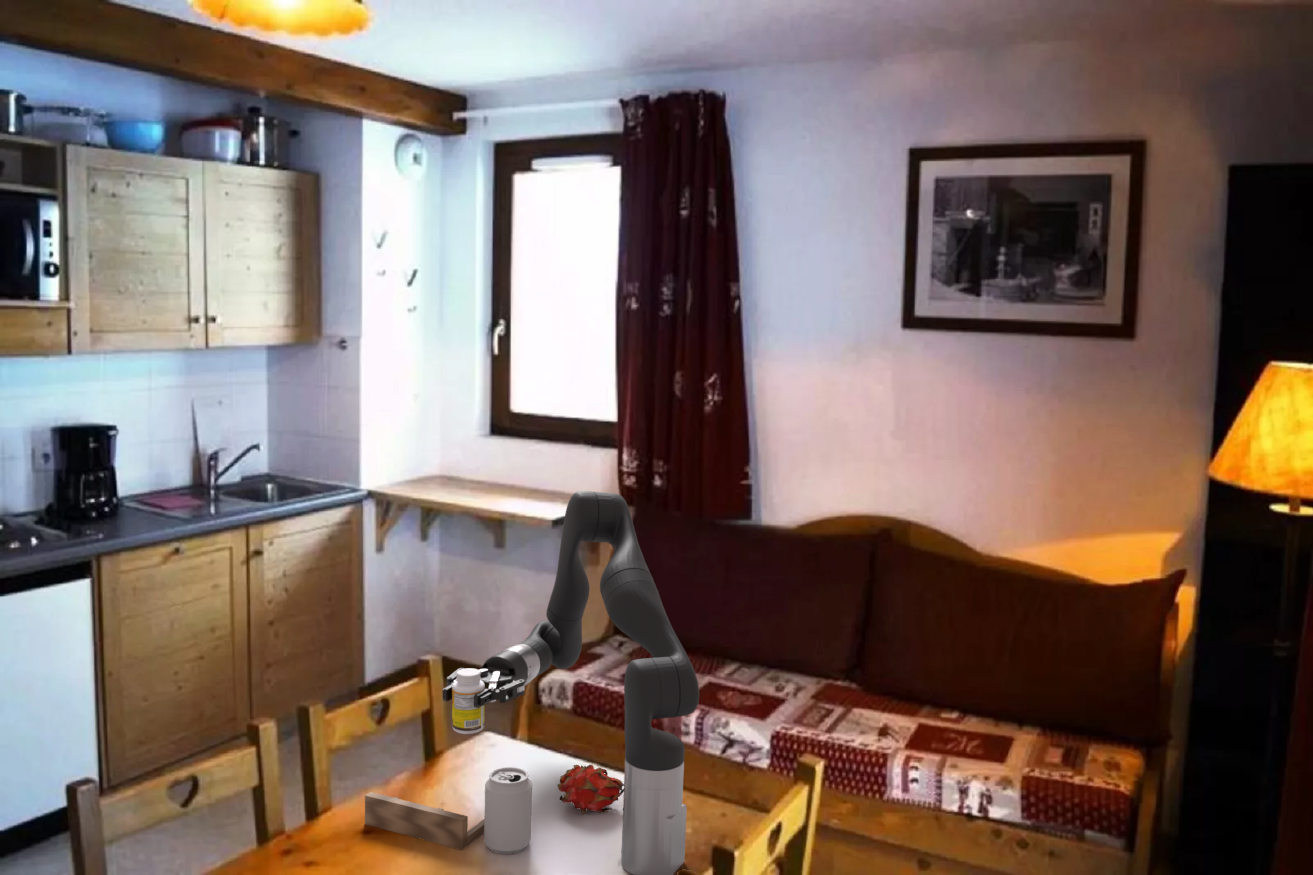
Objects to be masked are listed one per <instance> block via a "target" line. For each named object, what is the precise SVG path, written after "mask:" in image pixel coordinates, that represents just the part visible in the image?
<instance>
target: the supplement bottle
mask: <svg viewBox="0 0 1313 875" xmlns="http://www.w3.org/2000/svg"><path fill="white" fill-rule="evenodd" d="M479 670H480V669H478V668H473V667H472V668H471V667H470V668H467V667H466V668H464V669H461V670H459V671H458V672H457V678H456V679H457V681H455V682H454V683H453V685H452V699H451V705H452V706H451V716H452V717H451V723H452V725H451V727H452V729H453V731H454V732H456V733H458V734H463V735H470V734H476V733H479V732H481V731H482V730H483V729H484V728H485V722H486V721H485V720H486V718H485V715H486V714H485V709H486V708H485V707H486V706H485V705H486V704H485V705H483V706H481V707H479V708H476V707H474V696H475V695H476V694H477V693H479V692H481V691H483V690H484V689H485V684H484V682H483V681H481V680H480V678H481V677H480V671H479Z"/></svg>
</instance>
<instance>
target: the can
mask: <svg viewBox="0 0 1313 875" xmlns="http://www.w3.org/2000/svg"><path fill="white" fill-rule="evenodd" d="M529 777H530V776H529V773H528V771H526V770H525V769H524V768H523V769H522V768H520V767H515V766H514V767H513V766H511V767H510V766H507V767H500V768H496V769H494V770H493V771H491V772H490V773H489V778H488V779H487V780H486V782H485V784H484V814H483V815H484V833H483V842H484V845H486V846H487V847H488V848H489V849H490V850H491V851H492V852H494V853H496V854H501V855H510V854H512V855H513V854H516V853H519V852H522V851H523V850H524V849H525V848H526V847H527V846H528V845H529V844H530V843H531V839H532V816H533V814H532V811H533V810H532V809H533V808H532V807H533V806H532V804H533V782H532V780H531V779H530V778H529Z"/></svg>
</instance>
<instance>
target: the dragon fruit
mask: <svg viewBox="0 0 1313 875" xmlns="http://www.w3.org/2000/svg"><path fill="white" fill-rule="evenodd" d="M572 767H573V768H571V769H570V768H569V769H567V770H566V771H565V773H564V774H562V775H560V777H559V783H558V784H557V789H558V790H559V792H561V793H564V795H563V794H561V795H560V796H559V798H558V799H559V801H560V802H562V803H564V804H570V803H571V804H573V807H574V809H575V810H579V811H580V812H581V814H582V815H585V814H587V812H588V811H592V812H597V813H600V814H605V813H606V812H609V811H610V810H612V807H607V806H611V805H612V804H614V802H616V801H618V800H619V797H620V796H622V795H623V794H624V788H623V787H624V782H623V781H622V780H621V779H619V778H617V777H611V776H609V775H608V774H609V773H608V771H607V769H604V768H602V767H598V768H594V765H593V764H589V765H587V766H586V765H584V766H583V765H582V764H580V765H579V764H574V765H573V766H572Z"/></svg>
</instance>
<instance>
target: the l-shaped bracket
mask: <svg viewBox="0 0 1313 875" xmlns="http://www.w3.org/2000/svg"><path fill="white" fill-rule="evenodd" d="M468 818H469V817H468V815H464V814H460V813H457V812H452V811H448V810H444V808H441V807H437V808H435V807H433V806H428V805H425V804H421V803H416V802H412V801H408V800H404V799H401V798H400V797H398V796H397V797H396V796H393V797H392V796H389V795H385V794H381V793H376V792H373V791H370V792H367V793H366V794H365V795H364V825H366V826H371V827H374V828H378V829H382V830H385V831H389V832H394V833H397V834H400V835H404V834H406V835H405V836H407V835H408V837H411V836H412V838H415V839H419V838H421V839H420V840H422V839H424V841H427V842H431V843H435V844H437V843H439V844H438V845H442V846H446V847H450V848H452V849H457V850H460V851H463V850H464V849H465V848H466V847H468V846H469V845H470V844H472V843H473V842H475V841H476V840H477V839H478V838H479V837H481V836H482V835H484V819H482V820H481V821H480V822H478V823H477V824H475V825H474V826H473V827H472V828H470V829H469V828H468V826H469V825H468V824H469V821H468ZM468 829H469V830H468Z"/></svg>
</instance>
